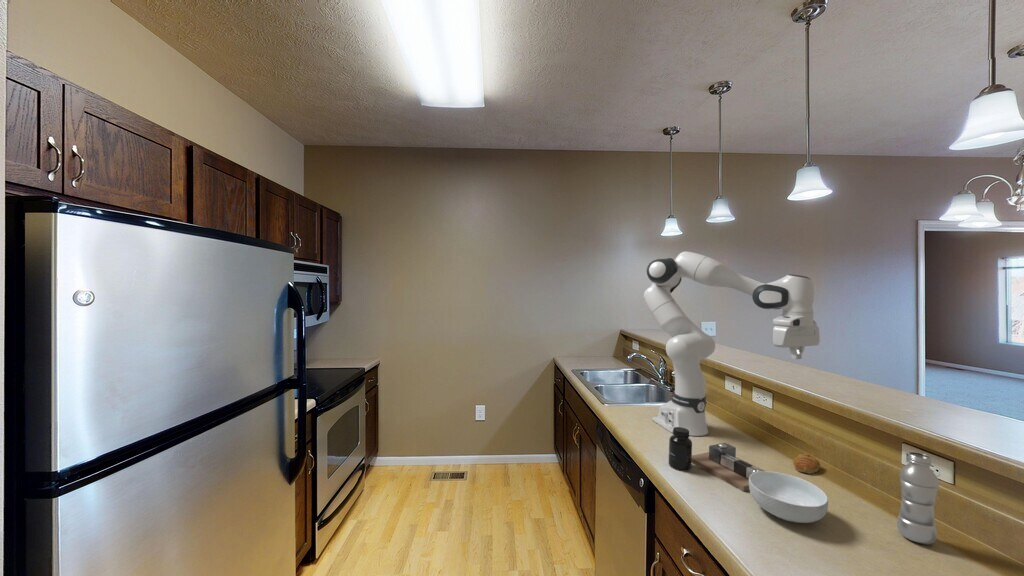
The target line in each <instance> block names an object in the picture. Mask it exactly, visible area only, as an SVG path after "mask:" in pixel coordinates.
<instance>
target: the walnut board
mask: <svg viewBox="0 0 1024 576" xmlns="http://www.w3.org/2000/svg"><path fill="white" fill-rule="evenodd" d="M736 458H737V459H739V460H742V461H744V462H746V463H748V464H750V465H752V466H753V467H756V468H758V469H760V470H761V471H765V470H764V469H762V468H760V467H757V466H756V465H754V464H752V463H750V462H747V461H745V460H743V459H741V458H739V457H737V456H736ZM691 464H693V465H694V464H695V465H694V466H696V467H698V468H700V469H701V470H703V469H704V470H703V471H705V472H707V473H709V474H710V475H713V476H715V477H716V478H718V479H720V480H721V481H723V482H725V483H727V484H729V485H730V486H733V488H734V487H735V489H738V490H740V491H741V492H747V491H750V489H749V479H748V478H745V477H743V476H741V475H740V474H738V473H736V472H734V471H733V470H731V469H729V468H727V467H725V466H723V465H719V464H717V463H715V462H713V461H711V460H709V451H708V452H702V453H699V454H694V455H693V454H692V460H691Z"/></svg>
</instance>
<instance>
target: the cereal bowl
mask: <svg viewBox="0 0 1024 576" xmlns="http://www.w3.org/2000/svg"><path fill="white" fill-rule="evenodd" d="M749 489H750V490H749V492H750V495H751V497H752V498H753V500H754V501H755V502H756V504H757V505H759V507H760V508H762V509H763V510H764V511H766V512H768V513H770V514H771V515H773V516H774V517H777V518H778V519H781V520H783V521H786V522H789V523H798V524H799V523H800V524H809V523H814V522H817V521H820V520H822V518H824V517H825V515H826V514H827V512H828V507H829V498H828V496H827V494H826V493H825V491H823V490H822V489H821V488H819V486H817V485H816V484H814V483H811V482H809V481H808V480H805V479H803V478H801V477H797V476H796V475H795V476H794V475H791V474H787V473H783V472H778V471H771V470H770V471H769V470H767V471H766V470H764V471H760V472H755V473H753V474H751V475H750V477H749Z"/></svg>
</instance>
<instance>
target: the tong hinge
mask: <svg viewBox="0 0 1024 576" xmlns="http://www.w3.org/2000/svg"><path fill="white" fill-rule="evenodd" d="M736 451H737V447H735V446H734V445H731V444H729V443H726V442H719V443H718V444H711V445H709V447H708V452H709V460H711V461H713V462H715V463H717V464H719V465H721V455H724V454H728V455H730V456H732V457H735V458H736V457H737V455H736V454H737V453H736Z"/></svg>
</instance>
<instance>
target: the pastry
mask: <svg viewBox="0 0 1024 576" xmlns="http://www.w3.org/2000/svg"><path fill="white" fill-rule="evenodd" d="M793 465H794V467H795V470H796V471H797V472H802V473H805V474H808V475H811V474H816V473H817V472H818V471H819V470H820V468H819V467H821V463H820V461H818V459H817V458H816V457H815V456H814V455H811V454H809V453H804V454H803V453H800V454H799V455H798V456H796V457H794V460H793ZM815 472H816V473H815Z"/></svg>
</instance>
